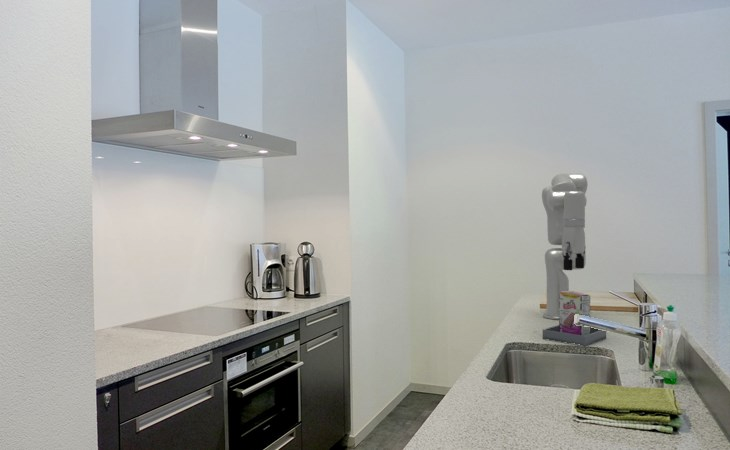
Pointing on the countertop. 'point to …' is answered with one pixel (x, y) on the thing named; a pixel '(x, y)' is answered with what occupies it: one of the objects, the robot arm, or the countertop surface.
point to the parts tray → (574, 336)
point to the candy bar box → (573, 312)
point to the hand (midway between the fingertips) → (573, 269)
